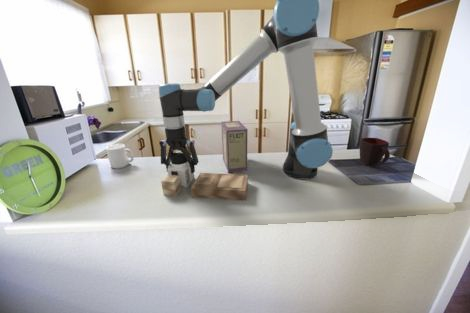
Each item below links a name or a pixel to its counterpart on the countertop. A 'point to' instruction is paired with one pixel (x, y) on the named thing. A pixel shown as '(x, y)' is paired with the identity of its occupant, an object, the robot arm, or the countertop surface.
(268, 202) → the countertop surface
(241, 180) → the base board
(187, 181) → the container
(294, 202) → the countertop surface
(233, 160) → the box
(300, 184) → the countertop surface
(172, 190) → the oak cube
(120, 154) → the cup
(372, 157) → the mug
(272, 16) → the robot arm
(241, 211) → the countertop surface
